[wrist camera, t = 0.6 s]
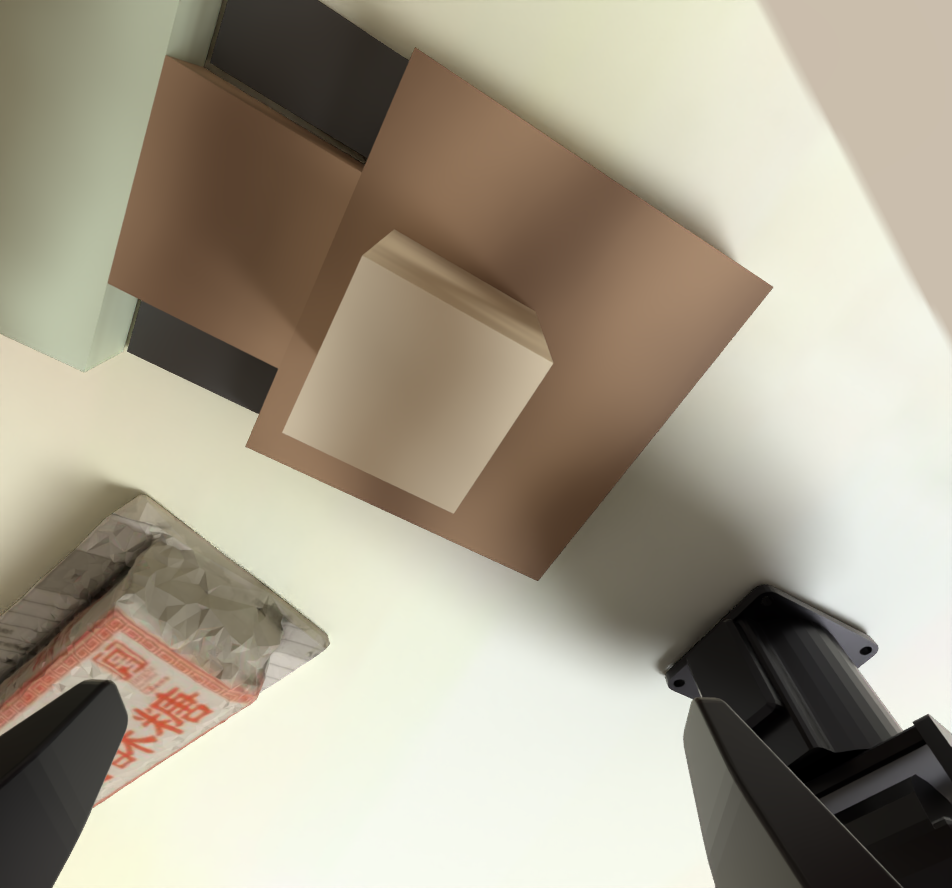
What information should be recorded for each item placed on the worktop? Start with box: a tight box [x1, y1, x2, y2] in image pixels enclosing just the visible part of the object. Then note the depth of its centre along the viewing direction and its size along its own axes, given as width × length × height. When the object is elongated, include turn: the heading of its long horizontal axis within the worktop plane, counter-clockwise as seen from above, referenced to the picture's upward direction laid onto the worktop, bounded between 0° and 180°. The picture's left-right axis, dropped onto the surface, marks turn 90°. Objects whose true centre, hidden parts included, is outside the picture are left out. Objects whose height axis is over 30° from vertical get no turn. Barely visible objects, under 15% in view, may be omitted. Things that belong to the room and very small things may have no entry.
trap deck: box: [0, 0, 773, 581], centre depth 15 cm, size 23×12×4 cm, turn 61°
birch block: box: [282, 229, 553, 514], centre depth 14 cm, size 4×4×4 cm
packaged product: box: [0, 494, 330, 808], centre depth 23 cm, size 18×5×10 cm
